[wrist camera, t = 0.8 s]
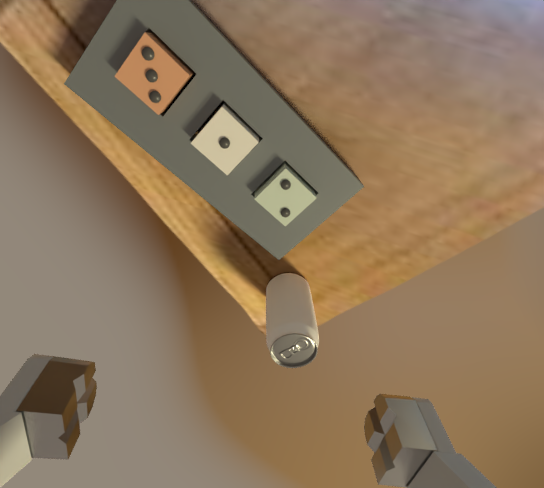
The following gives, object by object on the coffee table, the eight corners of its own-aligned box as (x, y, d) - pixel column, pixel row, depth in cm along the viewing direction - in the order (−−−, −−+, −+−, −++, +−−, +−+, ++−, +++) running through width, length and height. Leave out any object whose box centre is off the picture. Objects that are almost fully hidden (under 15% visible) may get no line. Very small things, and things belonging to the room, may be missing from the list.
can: (318, 290, 52) (332, 352, 42) (285, 313, 54) (290, 377, 44) (290, 263, 50) (297, 322, 39) (256, 288, 52) (255, 350, 41)
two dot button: (284, 160, 41) (285, 168, 38) (313, 188, 42) (316, 198, 40) (254, 189, 42) (254, 200, 40) (284, 215, 44) (285, 227, 41)
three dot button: (153, 32, 34) (144, 32, 31) (194, 72, 36) (189, 75, 33) (125, 73, 36) (113, 76, 33) (165, 110, 38) (158, 115, 35)
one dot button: (224, 102, 37) (221, 106, 35) (259, 135, 39) (258, 142, 36) (195, 136, 39) (190, 143, 36) (229, 167, 41) (227, 176, 38)
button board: (154, -39, 33) (145, -45, 30) (358, 177, 43) (364, 186, 41) (78, 80, 37) (64, 83, 35) (278, 248, 48) (278, 260, 46)
